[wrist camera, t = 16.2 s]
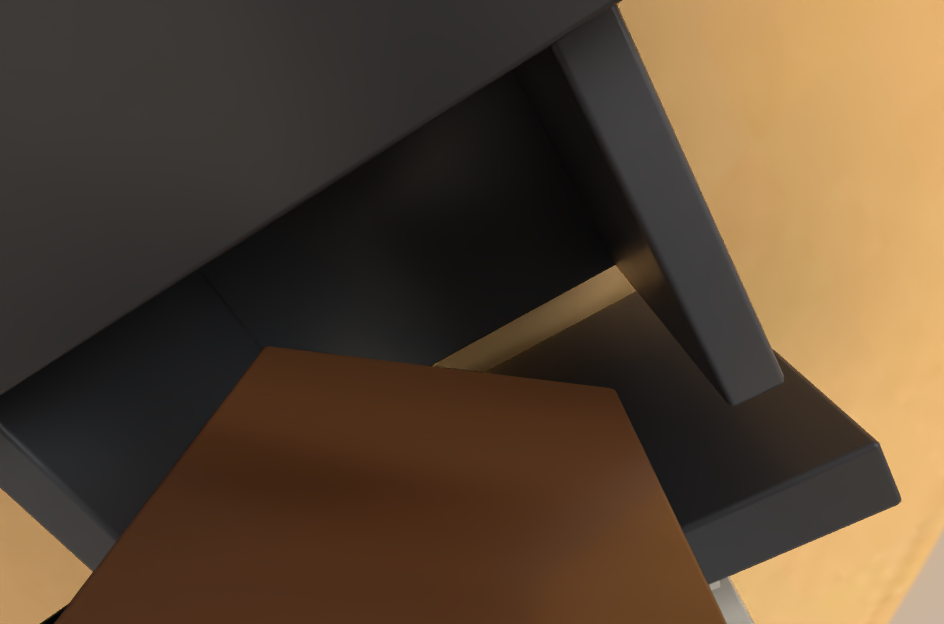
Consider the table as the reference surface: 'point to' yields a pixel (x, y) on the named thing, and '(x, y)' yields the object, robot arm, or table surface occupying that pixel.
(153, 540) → the block
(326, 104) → the drawer box
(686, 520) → the black drawer with handle
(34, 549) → the table surface
